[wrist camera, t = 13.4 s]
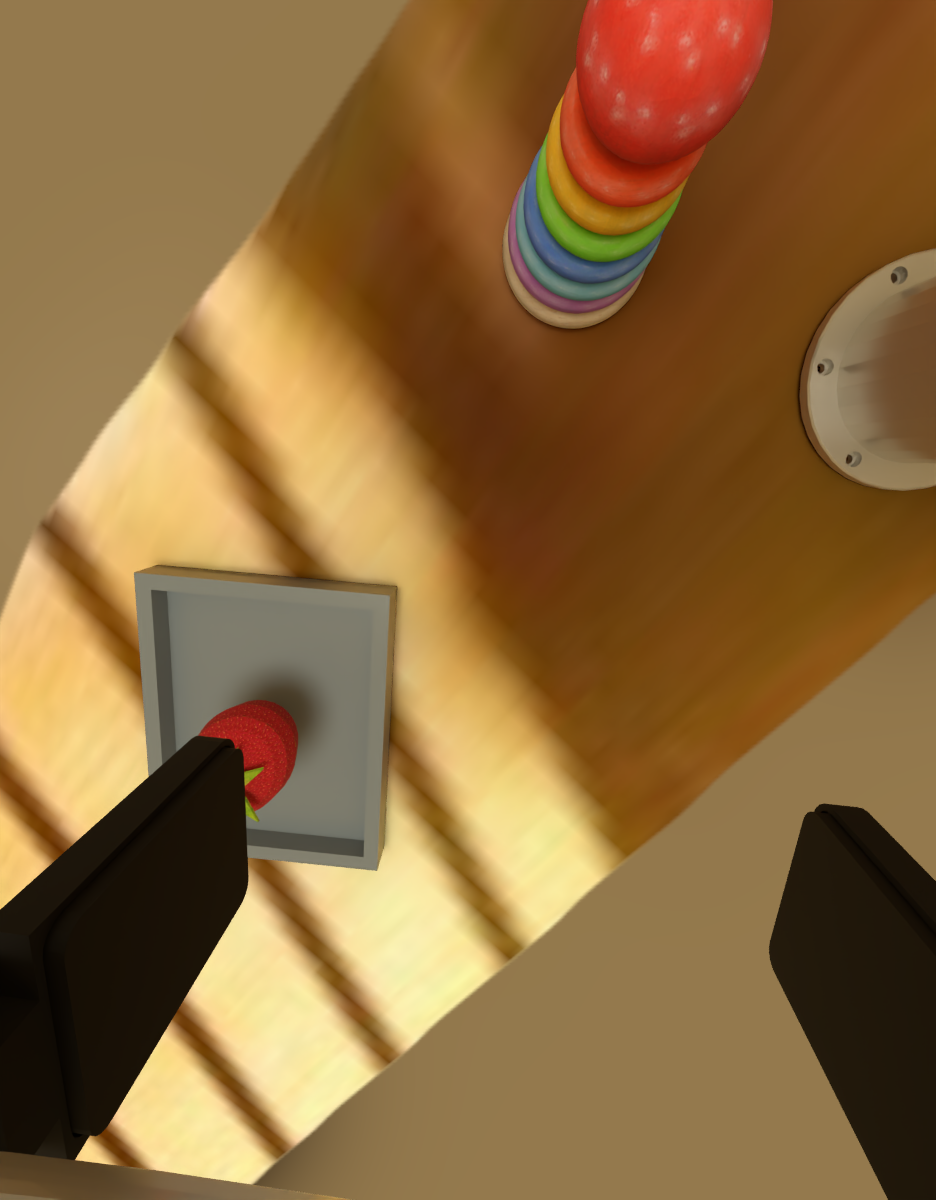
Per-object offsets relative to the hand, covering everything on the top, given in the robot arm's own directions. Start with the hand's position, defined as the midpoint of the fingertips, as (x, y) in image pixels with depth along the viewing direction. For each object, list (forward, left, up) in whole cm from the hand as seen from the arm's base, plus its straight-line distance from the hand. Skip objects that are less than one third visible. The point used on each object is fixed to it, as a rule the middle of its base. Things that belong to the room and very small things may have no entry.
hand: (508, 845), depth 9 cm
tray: (+14, +12, -27) cm, 33 cm away
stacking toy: (-3, -18, -27) cm, 33 cm away
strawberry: (+14, +12, -27) cm, 33 cm away
